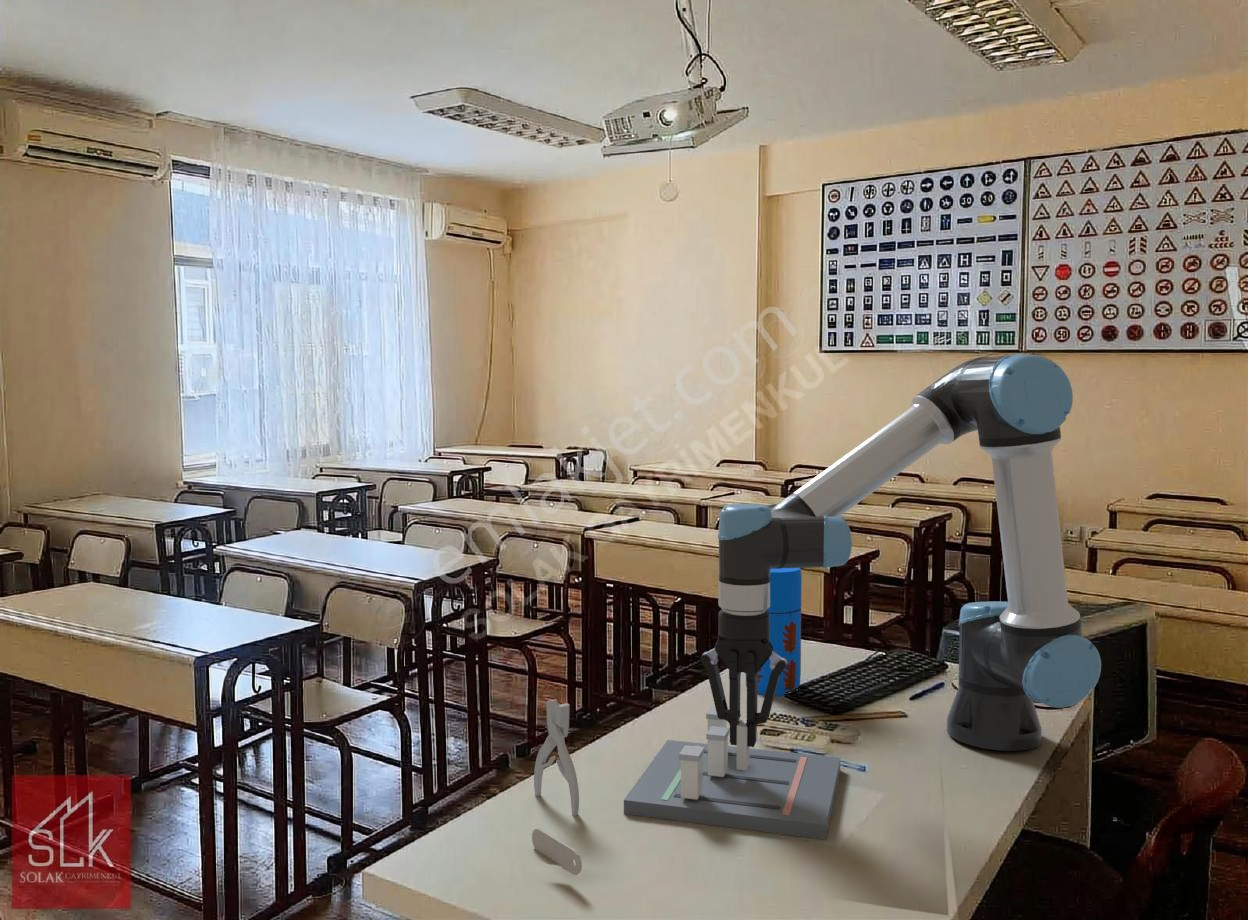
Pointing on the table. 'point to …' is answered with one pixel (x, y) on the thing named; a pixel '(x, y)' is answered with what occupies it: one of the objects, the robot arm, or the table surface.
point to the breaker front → (691, 771)
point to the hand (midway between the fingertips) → (743, 766)
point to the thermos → (784, 629)
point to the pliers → (557, 732)
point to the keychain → (557, 851)
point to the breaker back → (714, 719)
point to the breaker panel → (743, 792)
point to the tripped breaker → (717, 750)
